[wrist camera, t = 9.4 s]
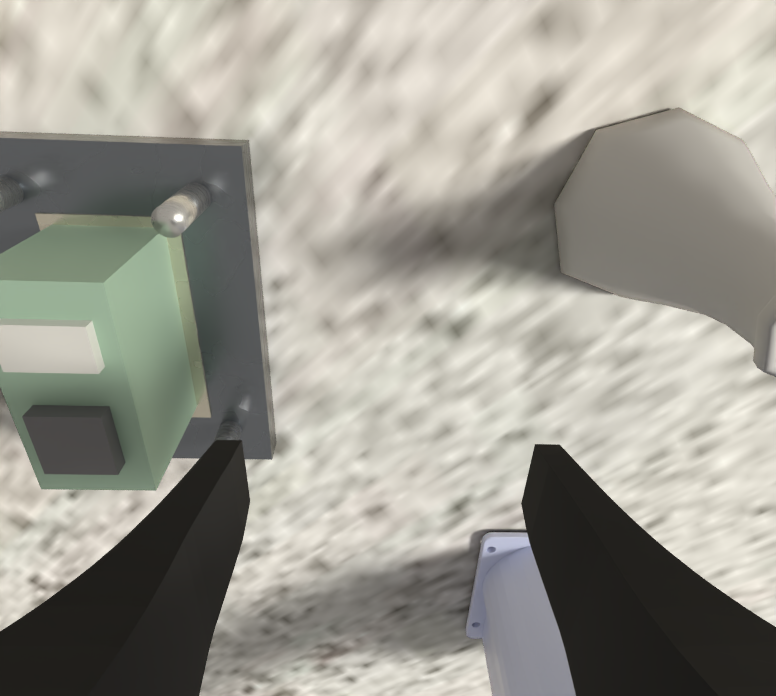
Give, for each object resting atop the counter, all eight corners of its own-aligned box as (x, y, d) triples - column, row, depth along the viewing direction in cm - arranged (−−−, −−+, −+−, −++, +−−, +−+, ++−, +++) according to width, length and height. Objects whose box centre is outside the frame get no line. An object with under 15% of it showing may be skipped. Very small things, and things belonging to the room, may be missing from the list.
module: (196, 406, 23) (149, 503, 18) (103, 404, 23) (31, 502, 18) (164, 227, 19) (93, 291, 14) (51, 224, 19) (-60, 287, 14)
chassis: (276, 442, 26) (260, 508, 22) (68, 439, 26) (17, 505, 22) (248, 140, 19) (218, 164, 15) (-39, 130, 18) (-140, 152, 15)
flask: (773, 113, 19) (1109, 175, 10) (699, 297, 22) (901, 457, 14) (575, 99, 18) (749, 151, 10) (533, 288, 22) (633, 448, 13)
